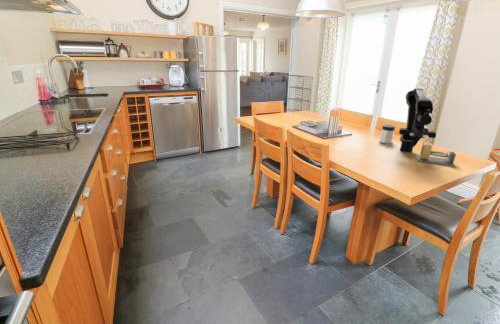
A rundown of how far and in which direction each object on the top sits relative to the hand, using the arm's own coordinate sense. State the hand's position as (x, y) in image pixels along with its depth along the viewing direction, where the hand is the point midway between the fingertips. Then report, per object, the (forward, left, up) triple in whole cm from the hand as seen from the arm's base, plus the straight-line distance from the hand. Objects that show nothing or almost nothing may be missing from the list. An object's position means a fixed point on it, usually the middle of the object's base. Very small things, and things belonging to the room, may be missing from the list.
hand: (413, 146), depth 168 cm
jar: (-14, +31, -8) cm, 35 cm away
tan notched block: (+7, 0, -6) cm, 9 cm away
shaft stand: (+12, 0, -8) cm, 14 cm away
